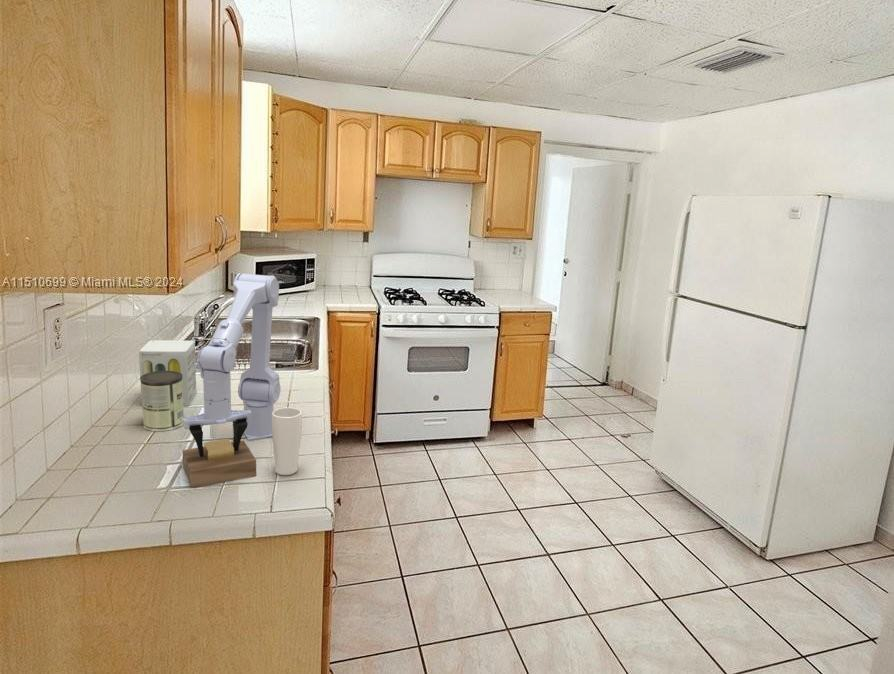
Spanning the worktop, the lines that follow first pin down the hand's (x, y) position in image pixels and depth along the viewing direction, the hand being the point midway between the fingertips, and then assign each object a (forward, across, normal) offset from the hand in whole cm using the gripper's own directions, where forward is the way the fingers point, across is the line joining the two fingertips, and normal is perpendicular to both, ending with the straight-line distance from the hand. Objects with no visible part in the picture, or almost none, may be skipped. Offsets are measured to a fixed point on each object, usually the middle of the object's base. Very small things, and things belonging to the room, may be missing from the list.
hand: (218, 452), depth 132 cm
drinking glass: (+5, +14, -7) cm, 16 cm away
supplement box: (+5, -4, +54) cm, 54 cm away
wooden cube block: (+4, 0, 0) cm, 4 cm away
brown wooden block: (+5, 0, 0) cm, 5 cm away
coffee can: (+5, -8, +34) cm, 35 cm away
